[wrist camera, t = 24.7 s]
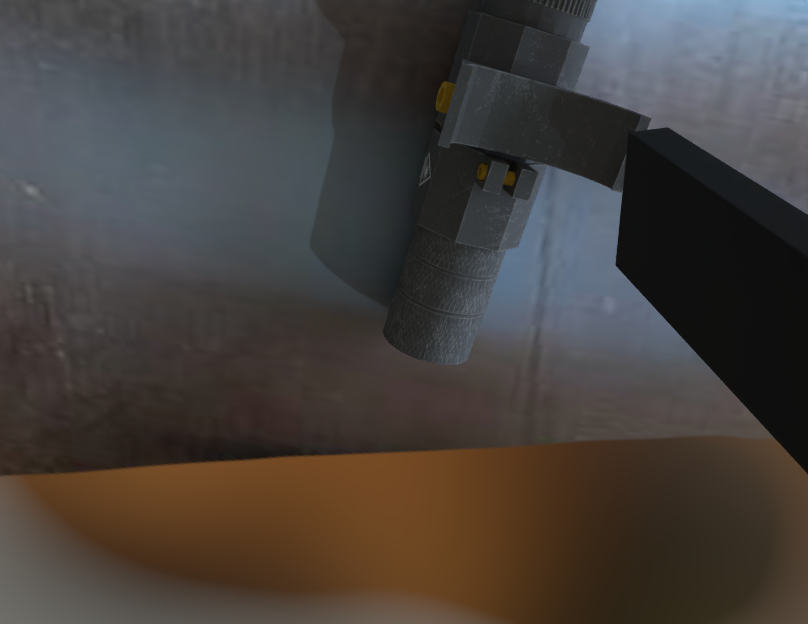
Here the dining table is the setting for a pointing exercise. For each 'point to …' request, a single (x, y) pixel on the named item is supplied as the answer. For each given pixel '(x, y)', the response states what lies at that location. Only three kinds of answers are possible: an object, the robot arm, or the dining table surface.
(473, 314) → the laser sight
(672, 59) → the dining table surface
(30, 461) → the dining table surface
